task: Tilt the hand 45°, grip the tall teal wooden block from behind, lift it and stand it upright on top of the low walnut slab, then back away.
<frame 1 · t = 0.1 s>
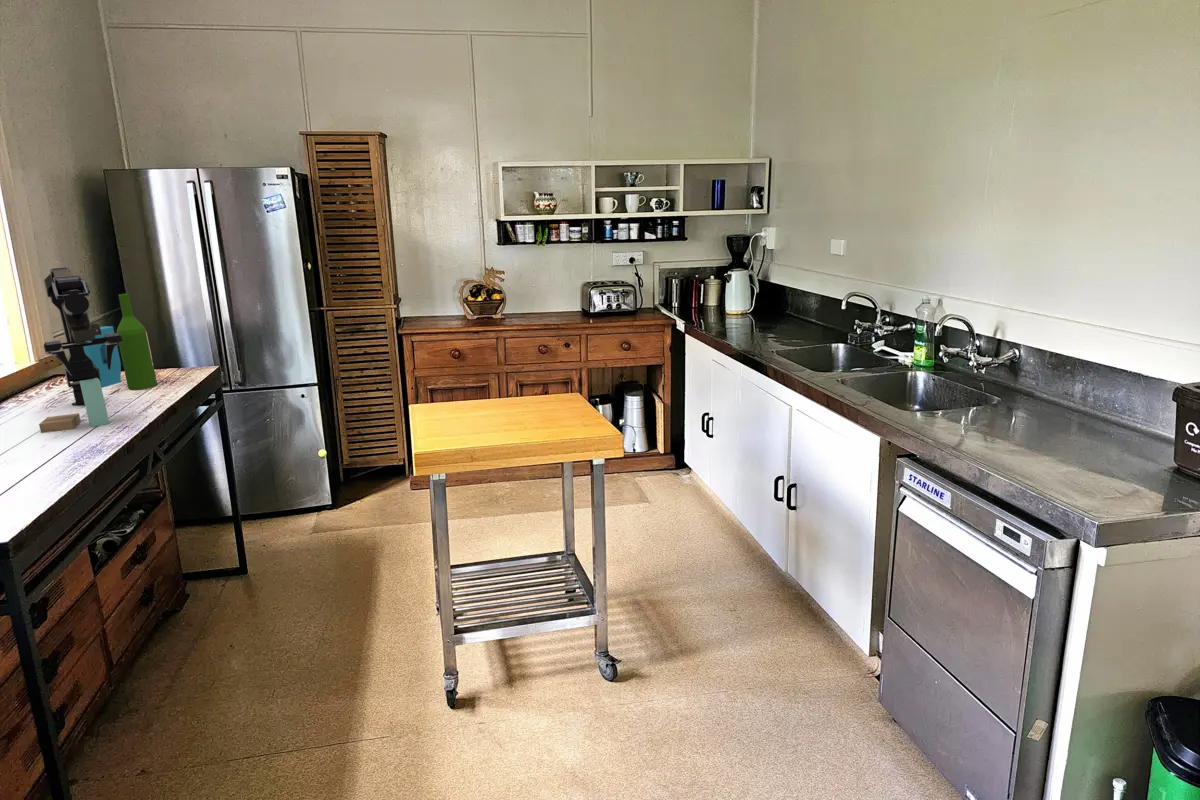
hand: (90, 372, 222), 15 cm above the countertop, tool pointing down, fingers open, 9 cm apart
wine bottle: (143, 387, 270), on the countertop
walnut slab: (61, 428, 225), on the countertop
teal block: (99, 423, 226), on the countertop
block: (106, 385, 276), on the countertop
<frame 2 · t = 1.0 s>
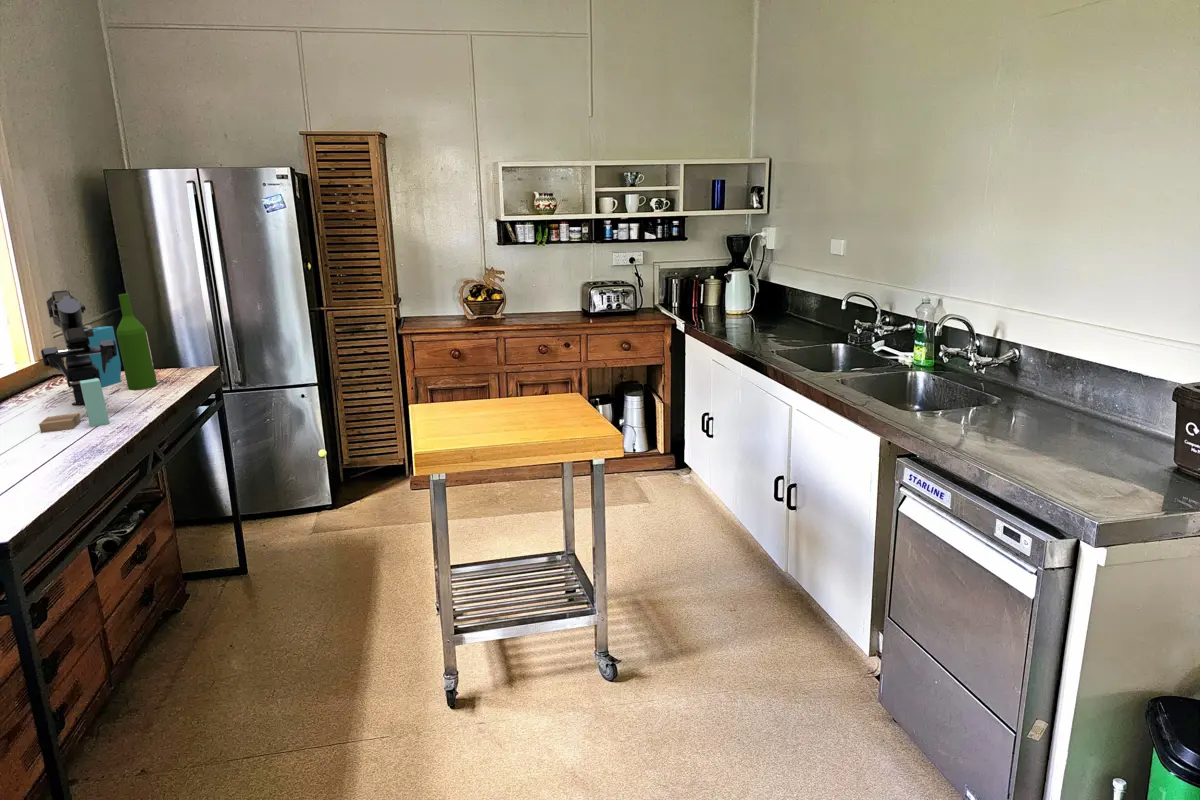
hand: (86, 375, 229), 13 cm above the countertop, tool tilted 45°, fingers open, 9 cm apart
nothing on the countertop moved.
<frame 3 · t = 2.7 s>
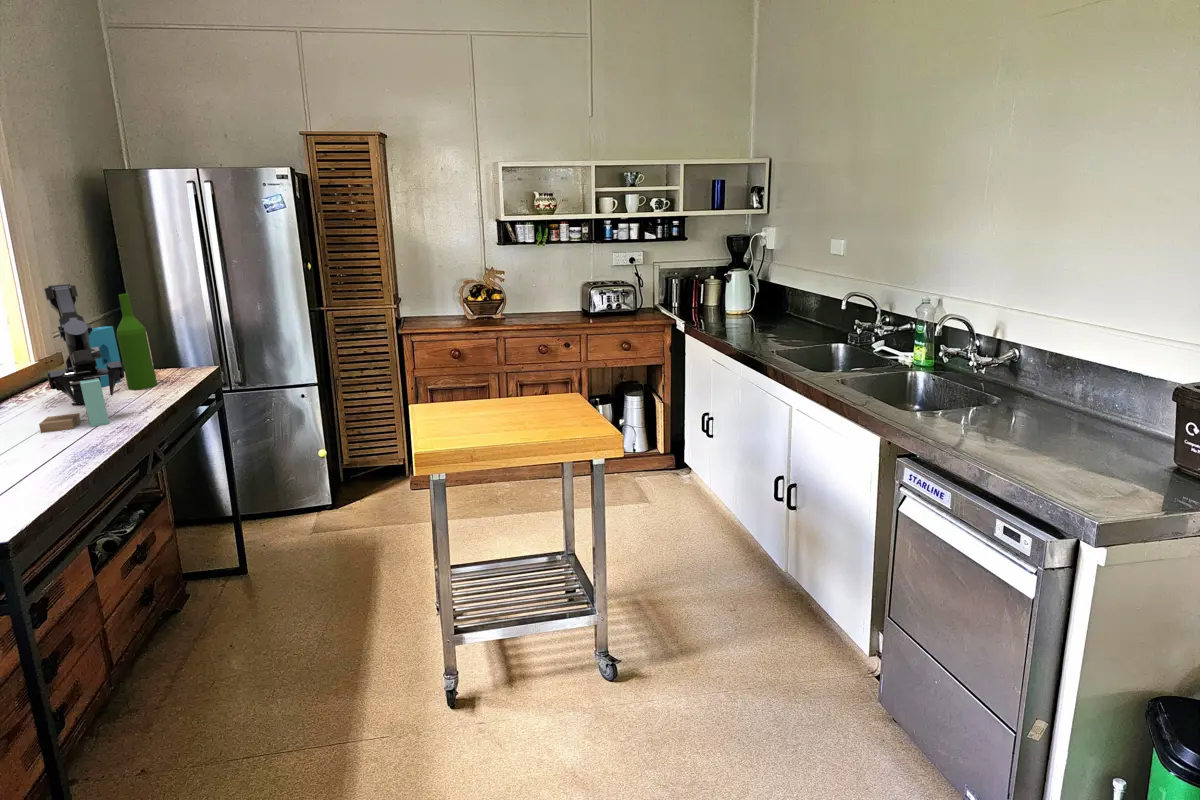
hand: (93, 397, 224), 8 cm above the countertop, tool tilted 45°, fingers open, 9 cm apart
nothing on the countertop moved.
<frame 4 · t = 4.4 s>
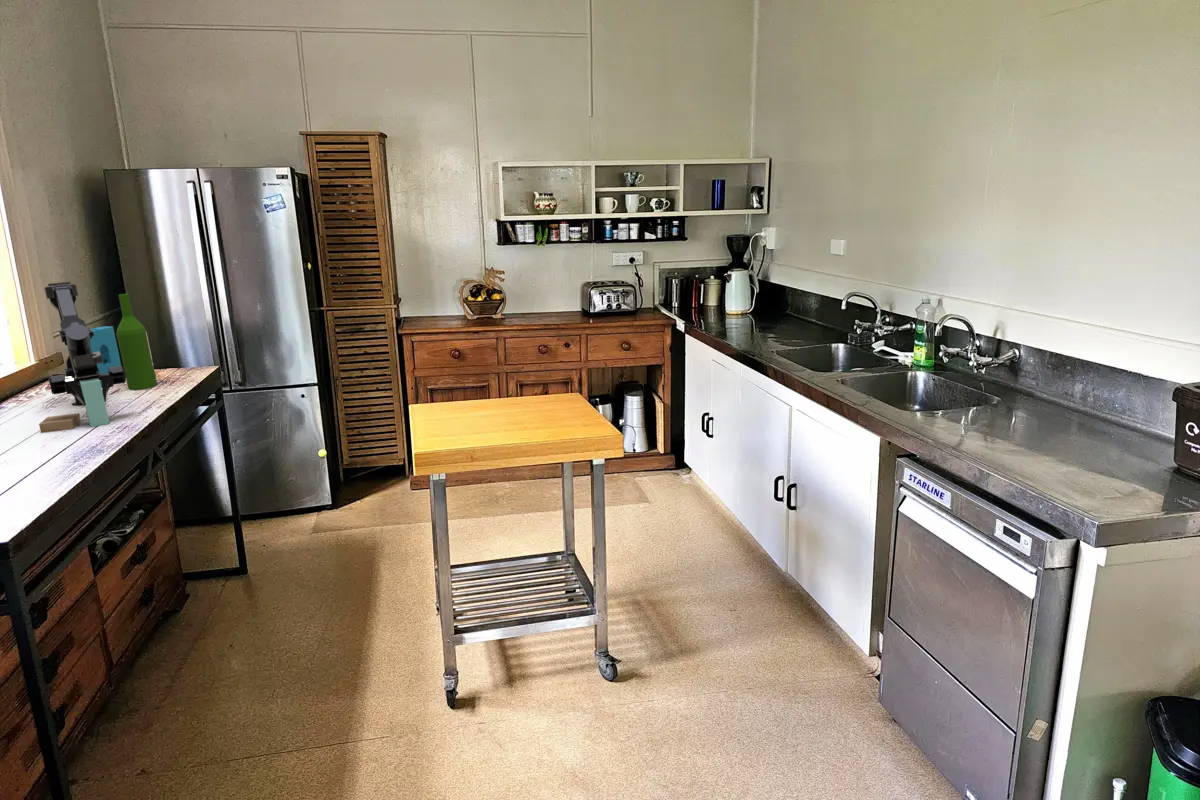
hand: (95, 403, 223), 7 cm above the countertop, tool tilted 45°, fingers closed on teal block, 5 cm apart
teal block: (99, 423, 226), on the countertop, touching gripper
everything else where it was.
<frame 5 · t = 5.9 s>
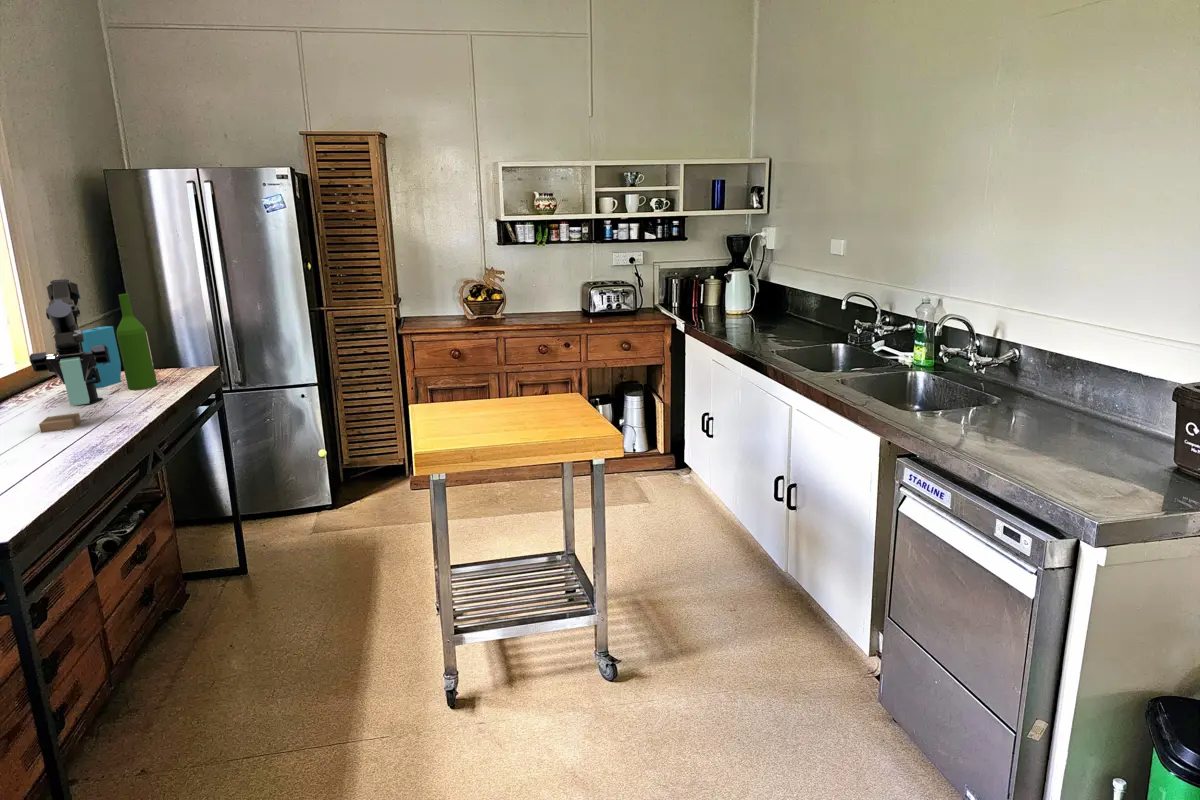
hand: (74, 381, 221), 13 cm above the countertop, tool tilted 45°, fingers closed on teal block, 5 cm apart
teal block: (80, 402, 224), point 7 cm above the countertop, touching gripper
everything else where it was.
when the fingers open (11 cm above the countertop, at t = 7.6 s): teal block drops 2 cm, resting on walnut slab.
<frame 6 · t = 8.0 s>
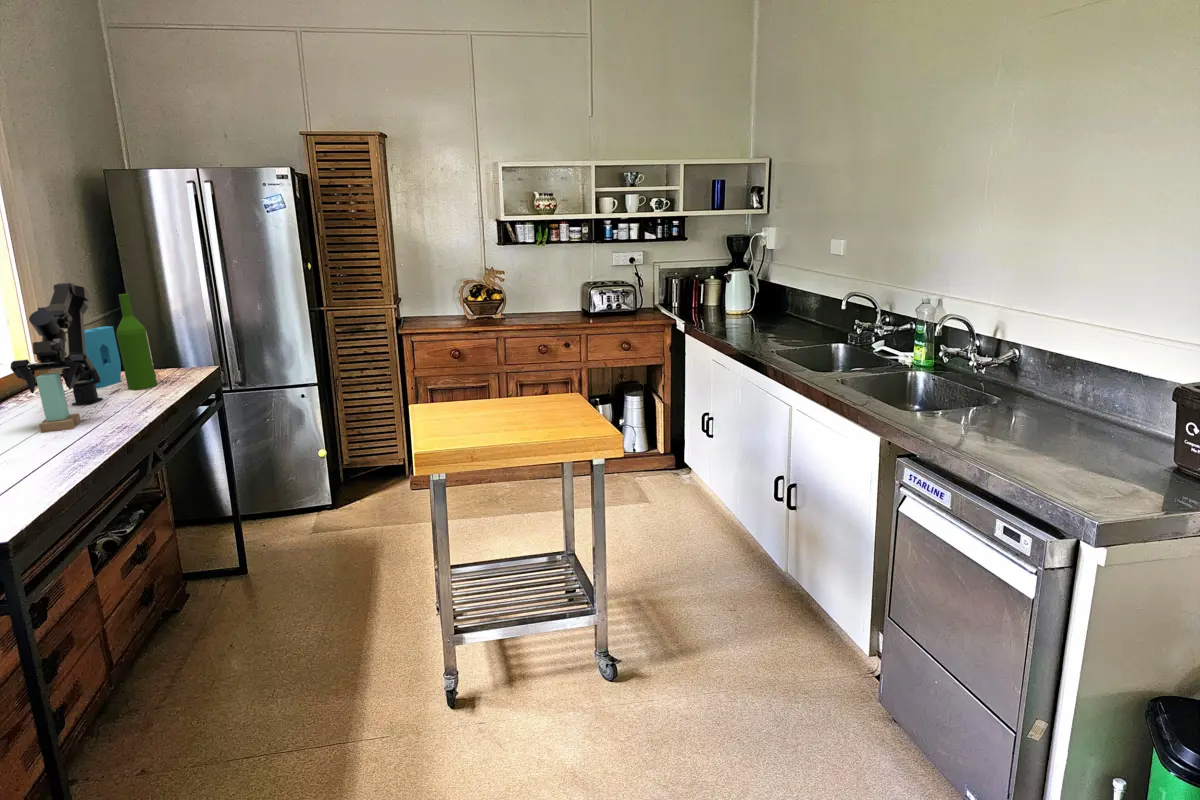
hand: (50, 390, 220), 11 cm above the countertop, tool tilted 45°, fingers open, 9 cm apart
walnut slab: (61, 428, 225), on the countertop, touching teal block
teal block: (58, 418, 224), point 3 cm above the countertop, touching walnut slab
everything else where it was.
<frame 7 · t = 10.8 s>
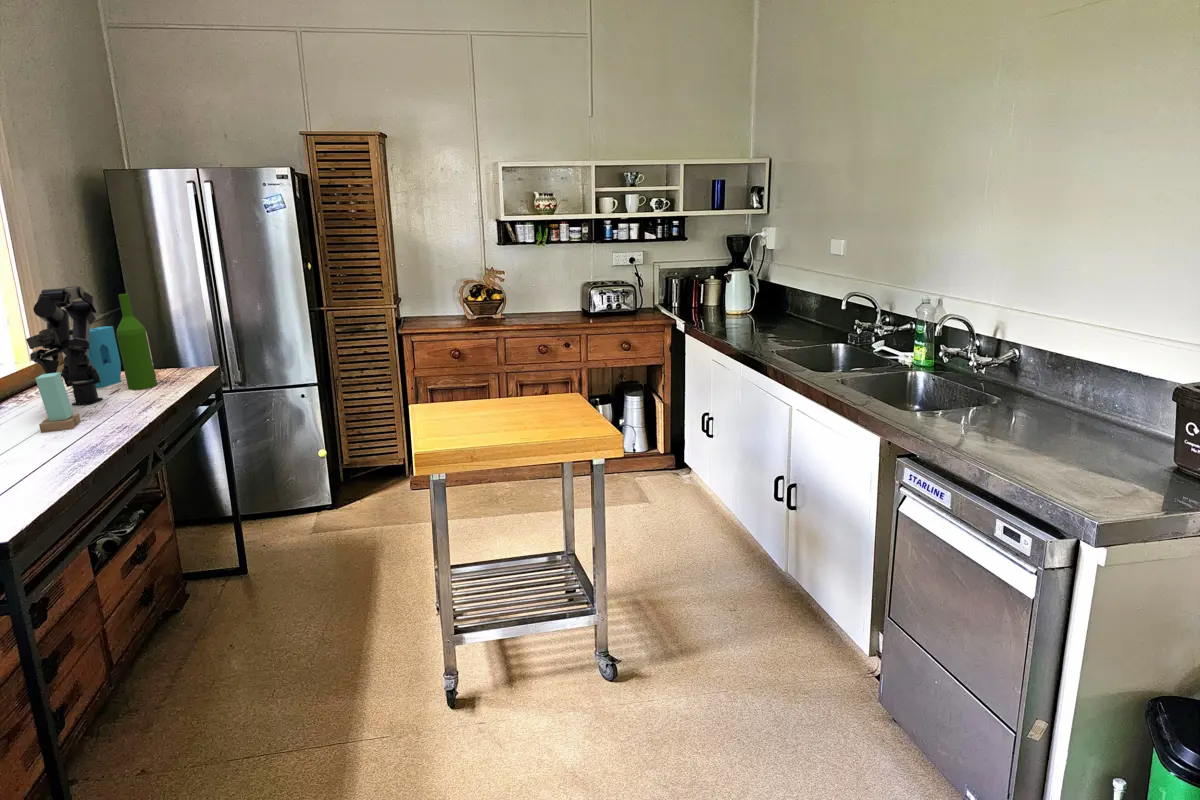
hand: (61, 377, 232), 12 cm above the countertop, tool tilted 25°, fingers open, 9 cm apart
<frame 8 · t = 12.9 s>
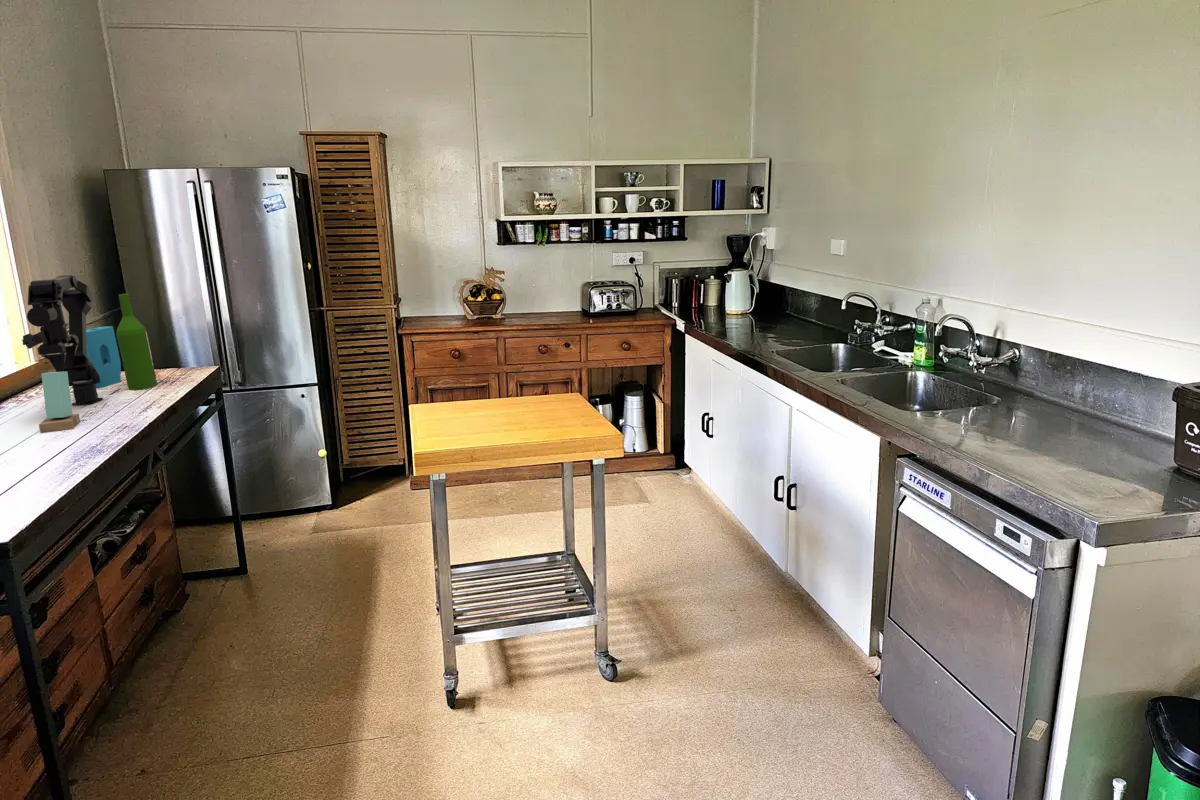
hand: (65, 371, 237), 13 cm above the countertop, tool pointing down, fingers open, 9 cm apart
teal block: (59, 416, 224), point 3 cm above the countertop, tilted 10°, touching walnut slab
everything else where it was.
at the end: teal block 0.6 cm from the walnut slab (horizontally); teal block point 3.0 cm above the countertop; teal block tilted 10° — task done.
